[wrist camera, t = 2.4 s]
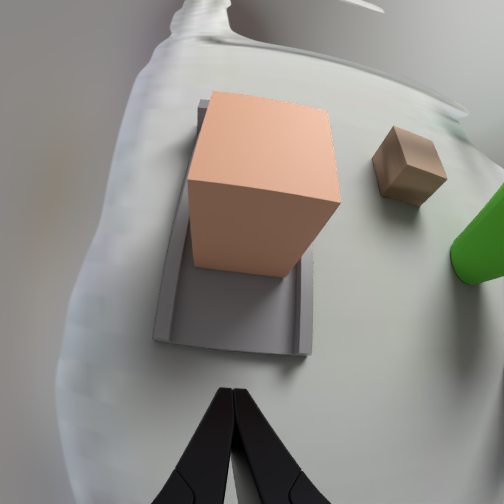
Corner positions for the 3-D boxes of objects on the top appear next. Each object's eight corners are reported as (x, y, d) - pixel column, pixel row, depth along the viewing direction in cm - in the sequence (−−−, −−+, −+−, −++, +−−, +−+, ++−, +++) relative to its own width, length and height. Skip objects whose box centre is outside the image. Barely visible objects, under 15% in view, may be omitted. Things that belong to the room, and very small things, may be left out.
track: (307, 355, 18) (329, 350, 15) (154, 340, 17) (141, 331, 14) (304, 137, 26) (315, 108, 23) (202, 121, 25) (203, 90, 22)
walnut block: (419, 206, 26) (447, 179, 21) (380, 196, 25) (407, 164, 21) (408, 169, 28) (432, 141, 23) (371, 158, 27) (393, 125, 23)
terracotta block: (285, 277, 19) (340, 202, 11) (194, 266, 18) (187, 179, 10) (287, 202, 22) (327, 111, 13) (207, 191, 21) (213, 91, 13)
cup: (487, 315, 22) (567, 277, 12) (433, 284, 22) (524, 227, 12) (487, 245, 25) (549, 199, 16) (436, 209, 26) (501, 146, 16)
